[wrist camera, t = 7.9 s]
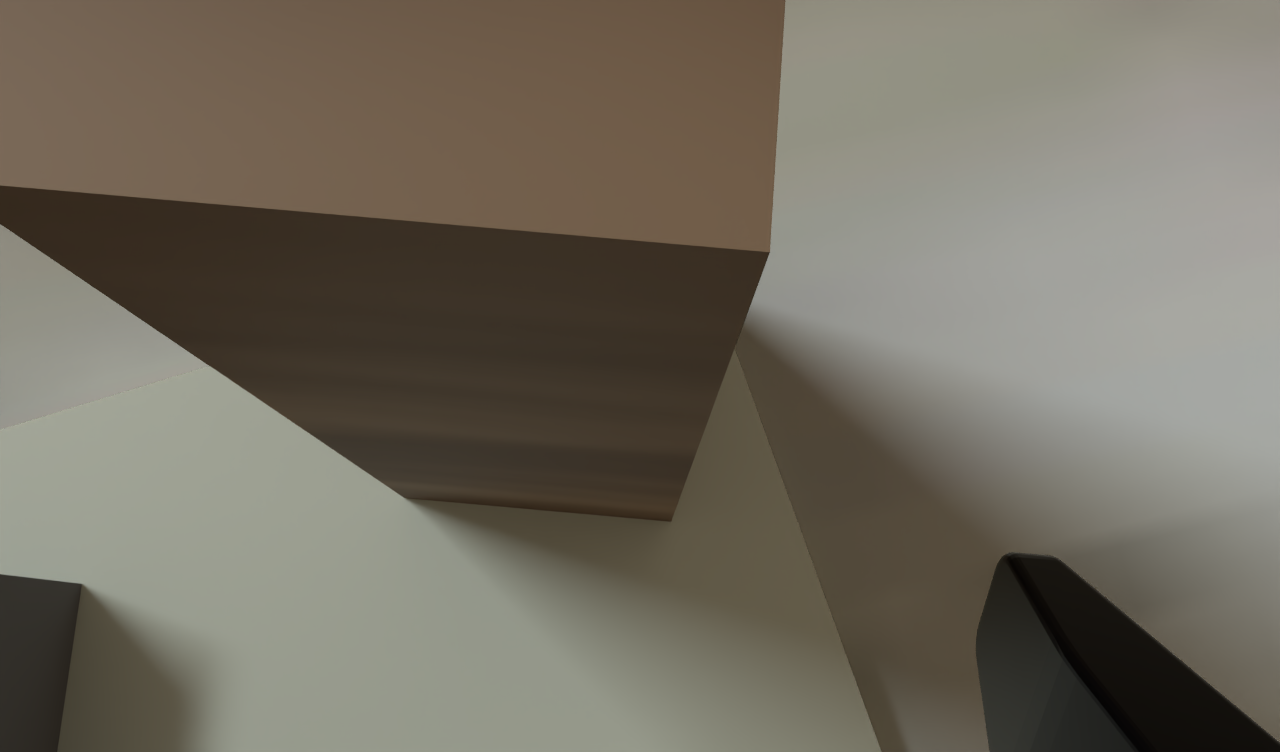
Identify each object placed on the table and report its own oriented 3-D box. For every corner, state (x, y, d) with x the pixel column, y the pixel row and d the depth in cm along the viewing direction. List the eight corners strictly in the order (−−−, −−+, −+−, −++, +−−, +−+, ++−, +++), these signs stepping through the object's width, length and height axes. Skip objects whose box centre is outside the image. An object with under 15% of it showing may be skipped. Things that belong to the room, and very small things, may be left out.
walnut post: (671, 521, 17) (768, 251, 5) (404, 498, 17) (-63, 178, 5) (691, 268, 18) (810, -413, 6) (439, 246, 18) (105, -472, 6)
